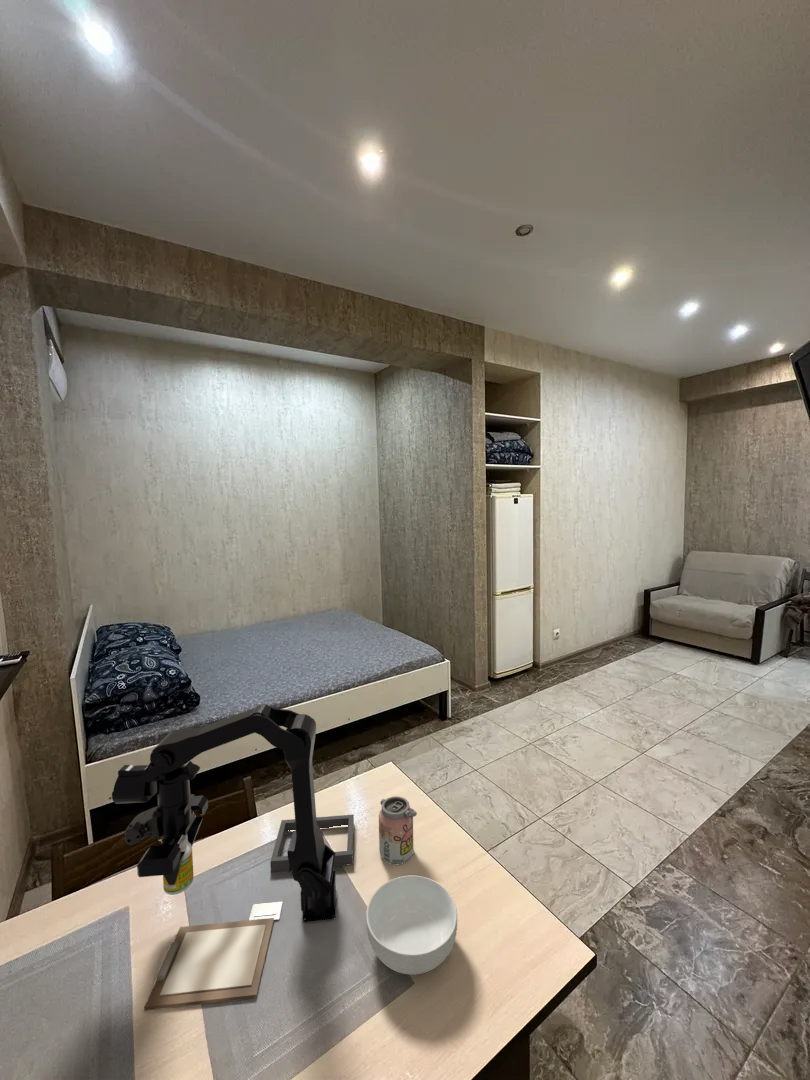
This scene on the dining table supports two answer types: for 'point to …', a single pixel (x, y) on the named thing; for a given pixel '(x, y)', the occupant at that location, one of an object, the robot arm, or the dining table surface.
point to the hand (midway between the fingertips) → (178, 872)
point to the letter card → (266, 911)
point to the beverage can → (396, 830)
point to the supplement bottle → (182, 870)
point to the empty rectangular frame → (322, 822)
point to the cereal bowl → (411, 924)
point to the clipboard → (212, 964)
